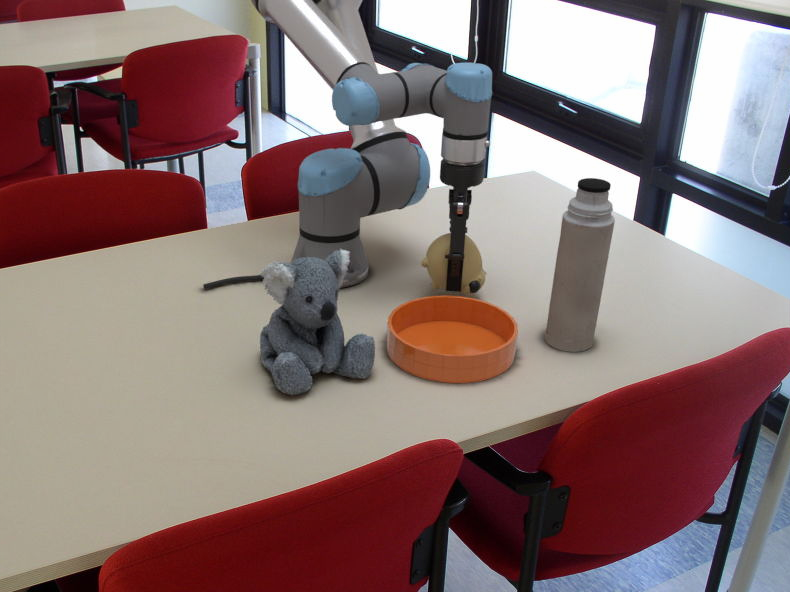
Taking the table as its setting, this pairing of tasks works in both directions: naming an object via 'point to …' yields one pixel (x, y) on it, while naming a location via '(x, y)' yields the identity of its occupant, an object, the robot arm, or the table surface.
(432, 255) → the beige pug toy
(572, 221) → the thermos bottle
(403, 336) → the pan
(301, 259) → the koala plush
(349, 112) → the robot arm
